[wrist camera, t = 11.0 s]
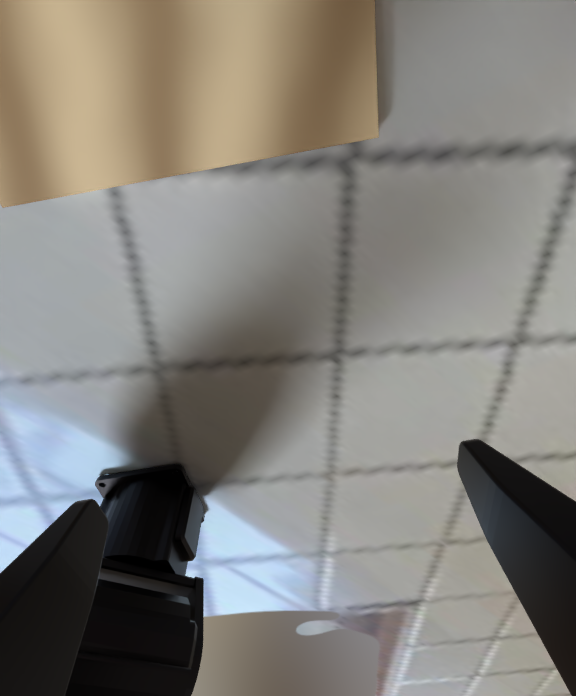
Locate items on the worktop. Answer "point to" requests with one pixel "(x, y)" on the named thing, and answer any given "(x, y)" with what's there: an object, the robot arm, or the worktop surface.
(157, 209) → the worktop surface
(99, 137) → the striped wooden cutting board
